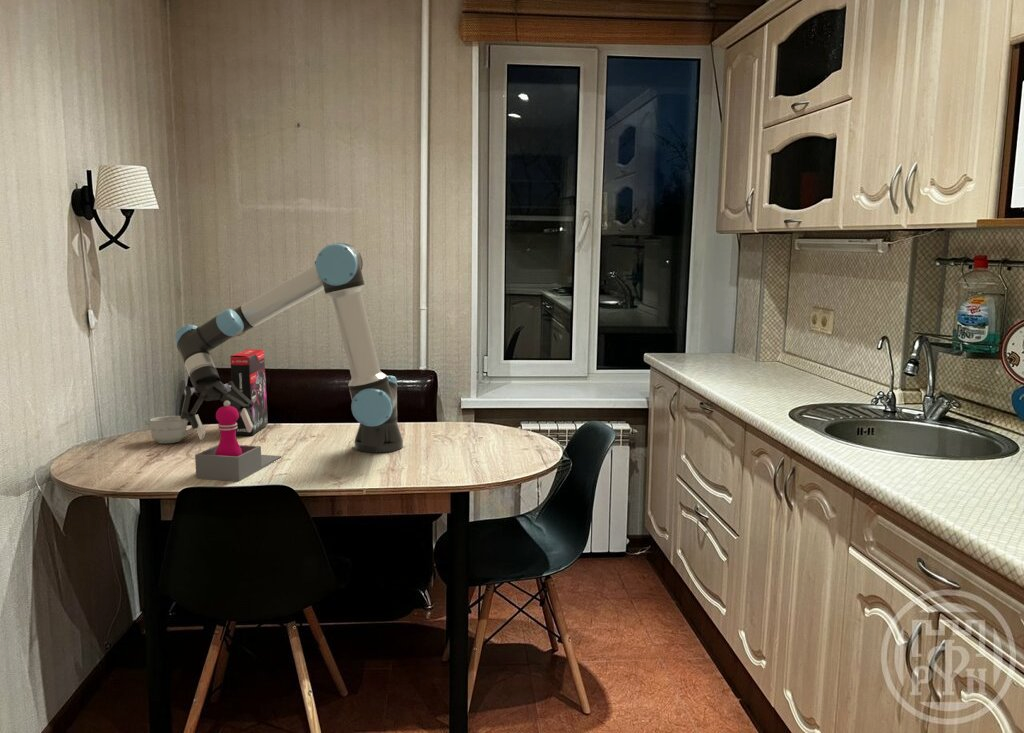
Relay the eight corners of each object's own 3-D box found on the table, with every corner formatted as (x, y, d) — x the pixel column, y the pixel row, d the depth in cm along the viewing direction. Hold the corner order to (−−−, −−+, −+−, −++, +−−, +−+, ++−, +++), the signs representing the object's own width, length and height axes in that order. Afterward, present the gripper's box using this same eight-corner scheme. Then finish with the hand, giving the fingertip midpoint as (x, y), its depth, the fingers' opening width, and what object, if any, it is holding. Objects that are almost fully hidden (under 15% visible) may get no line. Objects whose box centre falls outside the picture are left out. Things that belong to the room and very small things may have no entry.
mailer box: (281, 457, 242) (281, 436, 241) (239, 481, 217) (238, 457, 217) (242, 455, 244) (241, 434, 243) (196, 478, 220) (195, 454, 219)
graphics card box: (253, 436, 268) (250, 355, 265) (232, 436, 268) (229, 355, 264) (268, 425, 285) (266, 348, 281) (248, 425, 285) (246, 348, 281)
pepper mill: (218, 476, 220) (215, 403, 217) (213, 469, 226) (210, 399, 223) (245, 473, 223) (242, 401, 220) (240, 466, 230) (238, 397, 227)
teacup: (145, 445, 254) (144, 421, 253) (158, 437, 265) (157, 414, 264) (190, 445, 255) (189, 421, 254) (201, 438, 266) (200, 414, 265)
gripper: (240, 376, 242) (265, 434, 233) (154, 385, 225) (178, 447, 217) (248, 360, 238) (273, 419, 229) (161, 368, 221) (185, 431, 212)
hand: (227, 433), depth 223 cm, fingers open, 13 cm apart
